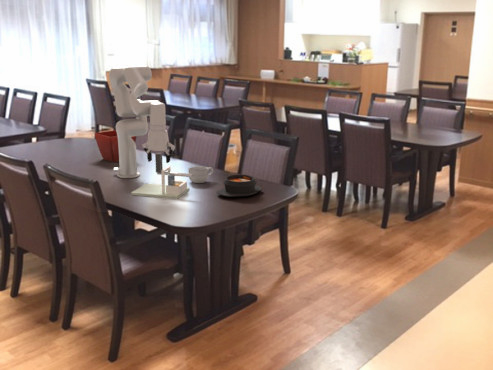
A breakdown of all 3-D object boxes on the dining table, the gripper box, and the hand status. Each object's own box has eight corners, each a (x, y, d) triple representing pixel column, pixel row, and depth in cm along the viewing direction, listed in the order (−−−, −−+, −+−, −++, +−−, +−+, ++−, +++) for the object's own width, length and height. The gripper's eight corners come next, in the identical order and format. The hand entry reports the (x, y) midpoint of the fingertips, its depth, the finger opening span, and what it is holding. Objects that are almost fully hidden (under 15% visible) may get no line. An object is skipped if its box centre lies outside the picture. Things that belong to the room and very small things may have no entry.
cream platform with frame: (131, 194, 283) (130, 170, 279) (146, 185, 299) (145, 162, 296) (176, 199, 277) (176, 174, 274) (189, 189, 294) (189, 165, 290)
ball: (176, 193, 284) (170, 188, 284) (179, 191, 288) (173, 186, 288) (180, 188, 283) (174, 183, 283) (183, 186, 286) (177, 181, 286)
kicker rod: (155, 189, 286) (154, 154, 281) (159, 187, 290) (158, 152, 286) (190, 192, 281) (189, 156, 277) (193, 190, 286) (193, 154, 281)
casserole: (246, 186, 302) (247, 170, 300) (270, 194, 288) (270, 178, 286) (208, 194, 287) (208, 177, 284) (231, 202, 273) (231, 186, 271)
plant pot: (95, 159, 357) (93, 132, 353) (121, 154, 370) (120, 129, 366) (111, 164, 344) (110, 137, 340) (138, 159, 357) (137, 133, 353)
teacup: (190, 185, 302) (190, 170, 300) (186, 180, 312) (186, 165, 310) (215, 183, 305) (215, 169, 303) (211, 178, 315) (211, 164, 313)
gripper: (138, 128, 278) (139, 162, 283) (171, 130, 274) (172, 164, 279) (144, 125, 285) (146, 158, 290) (177, 127, 281) (177, 161, 286)
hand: (158, 161), depth 284 cm, fingers open, 9 cm apart
